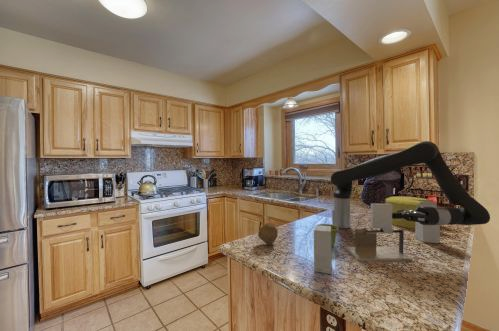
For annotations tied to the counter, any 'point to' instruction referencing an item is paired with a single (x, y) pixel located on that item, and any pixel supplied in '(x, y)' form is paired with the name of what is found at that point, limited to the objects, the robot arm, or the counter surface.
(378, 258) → the pin leaf jig
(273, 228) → the natural sponge
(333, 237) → the plant pot
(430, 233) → the milk carton
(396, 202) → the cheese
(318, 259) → the skincare box
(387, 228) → the knuckle leaf
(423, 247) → the counter surface
